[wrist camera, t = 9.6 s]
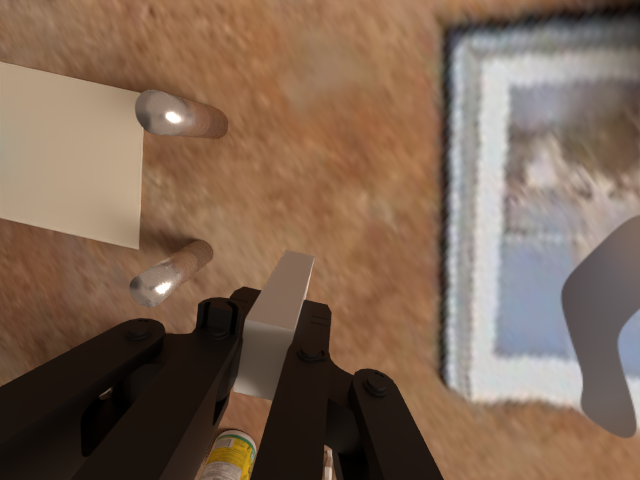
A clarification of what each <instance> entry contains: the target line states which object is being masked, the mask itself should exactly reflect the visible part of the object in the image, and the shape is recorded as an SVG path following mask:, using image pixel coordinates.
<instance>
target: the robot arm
mask: <svg viewBox="0 0 640 480" xmlns="http://www.w3.org/2000/svg"><path fill="white" fill-rule="evenodd" d="M314 258H315V256H311V255H307V254H302V253H298V252H294V251H289V250H285V252H284V254H283V255H282V257H281V259H280V260H279V262H278V264H277V266H276V267H275V269H274V271H273V272H272V274H271V276H270V278H269V279H268V281H267V283H266V284H265V286H264V288H263V290H262V291H261V290H257V289H253V288H248V287H242V288H240V289H238V290H236V291H234V293H233V294H232V295H231V296H230V298H222V297H217V298H209V299H206V300H203V301H202V302H200V303H199V304H198V313H197V322H196V328H195V329H194V330H193V332H192V333H189V334H165V328H164V326H163V324H162V323H160V322H159V321H157V320H153V319H146V318H139V319H133V320H129V321H126V322H123V323H121V324H119V325H117V326H115V327H113V328H111V329H109V330H107V331H106V332H104V333H102V334H100V335H98V336H96V337H94V338H92V339H90V340H88V341H87V342H85V343H83V344H81V345H79V346H77V347H75V348H73V349H71V350H69V351H68V352H66V353H64V354H62V355H60V356H58V357H56V358H54V359H52V360H50V361H49V362H47V363H45V364H43V365H41V366H39V367H37V368H35V369H33V370H31V371H30V372H28V373H26V374H24V375H22V376H20V377H18V378H16V379H14V380H12V381H10V382H9V383H7V384H5V385H3V386H1V387H0V480H194V479H195V476H196V474H197V472H198V470H199V468H200V465H201V463H202V461H203V459H204V457H205V454H206V452H207V450H208V448H209V446H210V443H211V441H212V439H213V437H214V434H215V432H216V430H217V428H218V426H219V423H220V421H221V419H222V417H223V415H224V412H225V410H226V408H227V406H228V402H229V396H230V391H231V389H232V387H233V384H234V382H235V386H234V392H238V393H243V394H247V395H251V396H255V397H260V398H264V399H268V400H272V401H273V402H272V405H271V409H270V412H269V416H268V419H267V423H266V426H265V429H264V433H263V436H262V440H261V443H260V447H259V450H258V454H257V457H256V461H255V464H254V467H253V471H252V474H251V478H250V480H322V472H323V458H324V444H325V445H326V446H328V447H330V448H331V449H332V458H333V463H334V468H335V473H336V478H337V480H444V479H443V477H442V475H441V473H440V471H439V469H438V467H437V465H436V463H435V461H434V459H433V457H432V455H431V453H430V451H429V449H428V447H427V445H426V443H425V441H424V439H423V437H422V435H421V433H420V431H419V429H418V427H417V425H416V423H415V421H414V419H413V417H412V415H411V413H410V411H409V409H408V407H407V405H406V403H405V401H404V399H403V397H402V395H401V393H400V391H399V389H398V387H397V386H396V384H395V383H394V382H393V380H392V379H391V378H389V377H388V376H387V375H386V374H384V373H382V372H379V371H377V370H373V369H360V370H359V371H357V372H355V374H354V375H352V374H350V373H347V372H345V371H344V370H342V369H340V368H339V367H338V366H337V365H335V364H334V362H333V361H332V360H331V358H330V353H329V339H330V326H331V313H332V312H331V310H330V309H329V307H328V305H326V304H322V303H317V302H313V301H309V300H305V298H306V294H307V289H308V285H309V280H310V276H311V271H312V267H313V262H314ZM109 389H110V390H109ZM107 390H109V391H108V392H107V393H105V394H103V393H104V392H106V391H107ZM102 394H103V395H102ZM100 395H101V396H100Z"/></svg>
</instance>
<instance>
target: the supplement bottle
mask: <svg viewBox="0 0 640 480" xmlns="http://www.w3.org/2000/svg"><path fill="white" fill-rule="evenodd" d="M255 455H256V446H255V443H254V441H253V439H252V438H251V437H250V436H249V435H247V434H246V433H244V432H241V431H238V430H229V431H225V432H223V433H221V434H220V435H219V436H218V437H217V439H216V440H215V443H214V445H213V447H212V449H211V452H210V454H209V456H208V458H207V461H206V463H205V465H204V468H203V470H202V472H201V474H200V477H199V479H198V480H248V479H249V476H250V473H251V469H252V466H253V462H254V459H255Z"/></svg>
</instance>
